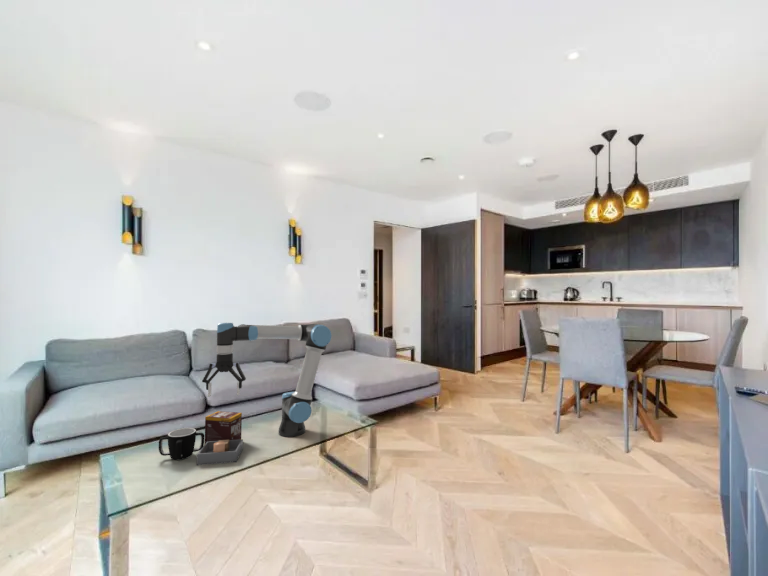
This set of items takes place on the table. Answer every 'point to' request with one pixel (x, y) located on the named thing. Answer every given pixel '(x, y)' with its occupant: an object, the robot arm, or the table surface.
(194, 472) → the table surface
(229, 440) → the walnut cube
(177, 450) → the mug
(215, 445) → the terracotta canister
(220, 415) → the supplement box
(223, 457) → the tray
